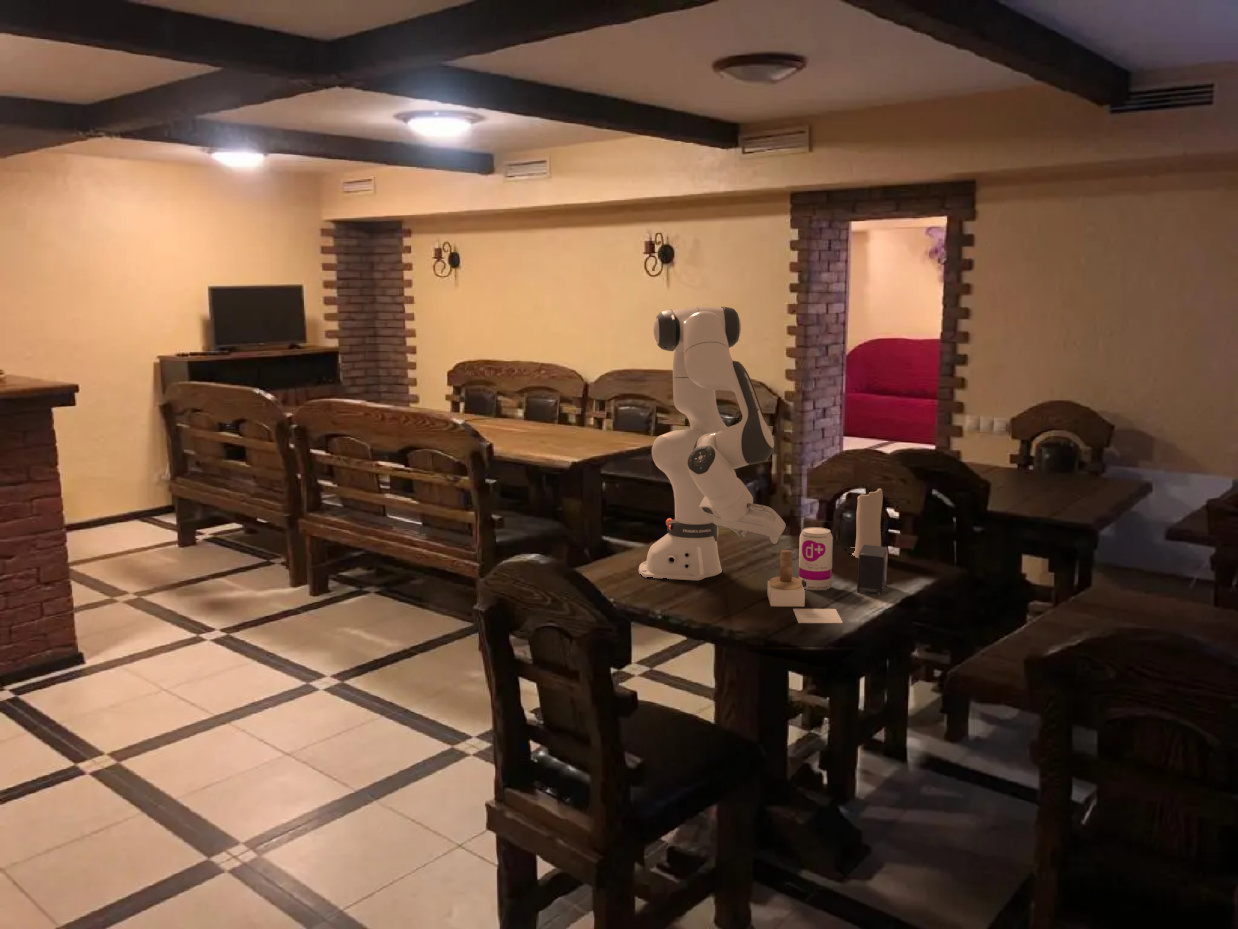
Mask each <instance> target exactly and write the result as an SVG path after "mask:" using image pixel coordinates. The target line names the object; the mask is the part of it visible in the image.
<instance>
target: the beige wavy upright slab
mask: <svg viewBox="0 0 1238 929" xmlns="http://www.w3.org/2000/svg"><path fill="white" fill-rule="evenodd" d="M883 495H884V494H883V489H882V488H881V487H880V488H877V489H876V491H870V492H868V494H863V493H861V494H860V495H858V496H857V507H856V517H855V518H856V520H855V521H856V522H855V523H856V533H855V534H856V535H855V537H856V538H855V547H851V548H855V551H854V553H852V555H853V556H852V555H851V556H852V557H854V556H855V558H856V559H859V553H860V551H861V549H862V547H863V545H872V546H881V547H882V536H881V533H882V532H881V521H882V520H881V519H882V518H881V516H882V509H883V500H884V497H883Z"/></svg>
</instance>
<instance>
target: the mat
mask: <svg viewBox="0 0 1238 929" xmlns="http://www.w3.org/2000/svg"><path fill="white" fill-rule="evenodd" d="M792 610H793V613H794V615H795V619H796V620H797V623H798V624H843V623H844V622H843V620H842V618H841V616H840V614H839V612H838V611H837V609H836V608H793V609H792Z"/></svg>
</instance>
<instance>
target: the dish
mask: <svg viewBox="0 0 1238 929" xmlns="http://www.w3.org/2000/svg"><path fill="white" fill-rule="evenodd" d="M805 595H806V590H804V587H803V585H802V587H801V588H799V589H795V590H780V589H775V588H772V587H771V586H770V580H767V598H768V602H769V605H770V607H805V604H806V600H805V599H806V596H805Z"/></svg>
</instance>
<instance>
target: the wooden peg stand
mask: <svg viewBox="0 0 1238 929" xmlns="http://www.w3.org/2000/svg"><path fill="white" fill-rule="evenodd" d="M779 559H780V560H779V566H780V567H779V576H774V577H771V578H770V579H769V581H770V586H771V587H772V588H775V589H780V590H795V589H799V588H801V587H802V580H801V579H799V577H795V576H793V550H790V549H781V550H780V556H779Z"/></svg>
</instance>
